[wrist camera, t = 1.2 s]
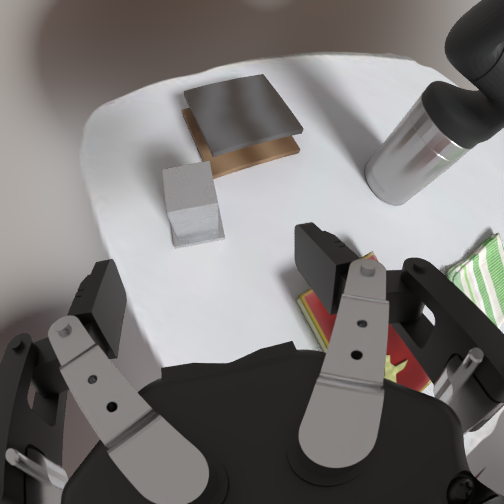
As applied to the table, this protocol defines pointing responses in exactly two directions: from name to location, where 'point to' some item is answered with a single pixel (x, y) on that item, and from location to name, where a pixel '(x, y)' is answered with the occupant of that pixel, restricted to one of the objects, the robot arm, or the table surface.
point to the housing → (192, 204)
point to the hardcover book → (398, 354)
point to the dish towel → (483, 278)
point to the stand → (240, 124)
